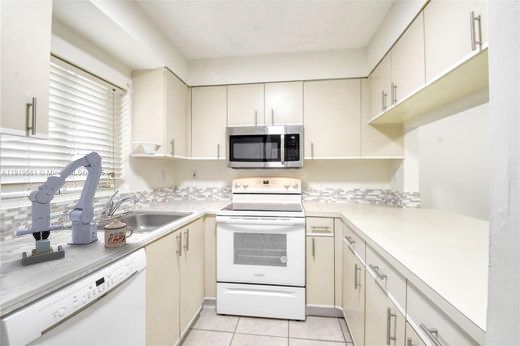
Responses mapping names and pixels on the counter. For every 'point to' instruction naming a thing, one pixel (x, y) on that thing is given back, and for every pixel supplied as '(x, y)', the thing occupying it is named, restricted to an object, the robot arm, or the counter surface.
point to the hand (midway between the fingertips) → (41, 249)
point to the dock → (43, 256)
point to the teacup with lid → (115, 234)
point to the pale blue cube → (42, 245)
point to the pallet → (41, 252)
